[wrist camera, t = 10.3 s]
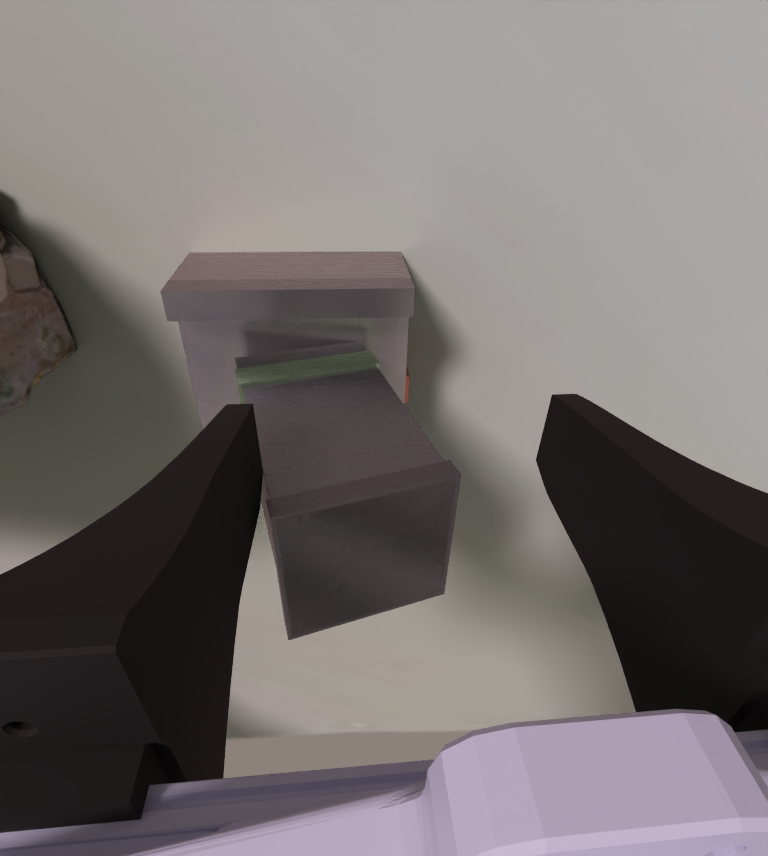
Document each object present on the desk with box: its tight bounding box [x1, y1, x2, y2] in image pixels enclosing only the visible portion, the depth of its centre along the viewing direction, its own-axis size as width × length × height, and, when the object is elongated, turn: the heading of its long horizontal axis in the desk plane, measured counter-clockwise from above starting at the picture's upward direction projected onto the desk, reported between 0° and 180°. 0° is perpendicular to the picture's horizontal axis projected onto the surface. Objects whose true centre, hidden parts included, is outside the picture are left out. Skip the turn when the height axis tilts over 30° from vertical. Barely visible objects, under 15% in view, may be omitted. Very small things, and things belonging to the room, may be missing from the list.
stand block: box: [161, 252, 415, 429], centre depth 20 cm, size 9×8×4 cm
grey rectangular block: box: [235, 341, 461, 640], centre depth 16 cm, size 5×5×8 cm
